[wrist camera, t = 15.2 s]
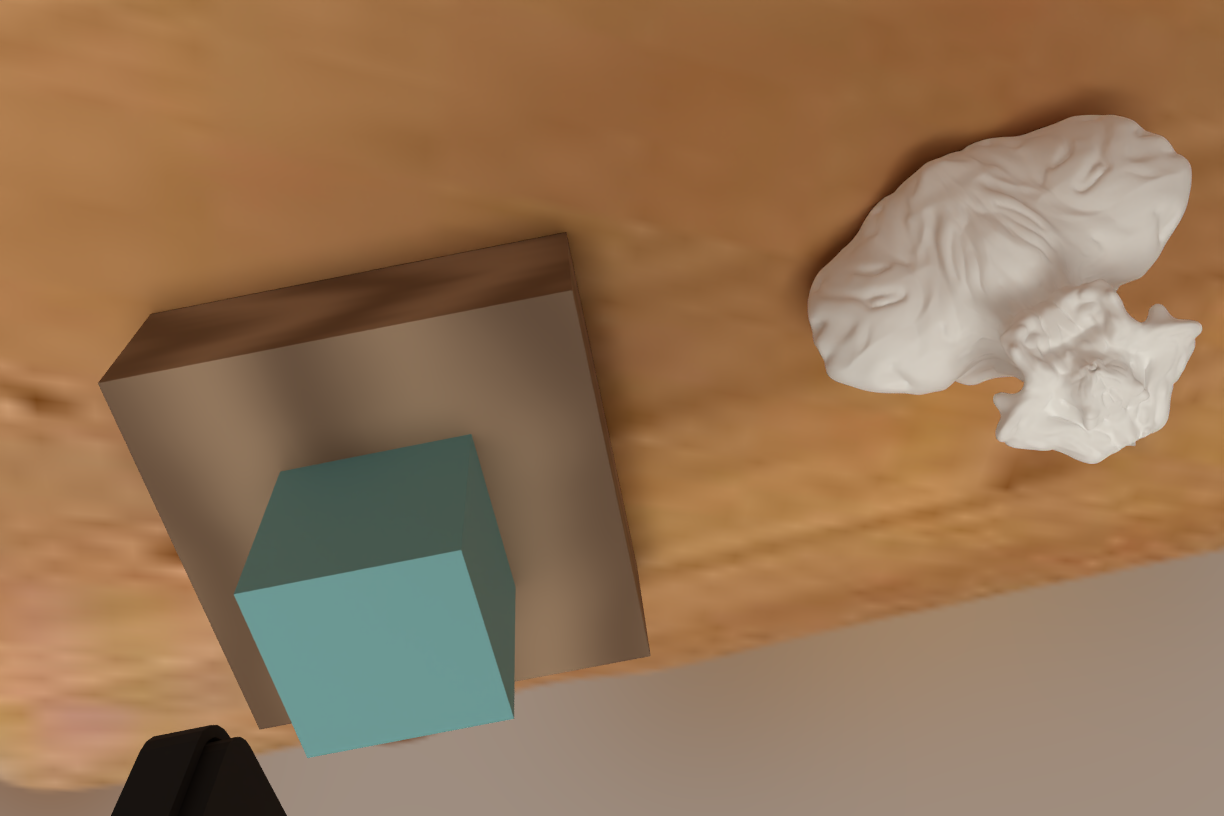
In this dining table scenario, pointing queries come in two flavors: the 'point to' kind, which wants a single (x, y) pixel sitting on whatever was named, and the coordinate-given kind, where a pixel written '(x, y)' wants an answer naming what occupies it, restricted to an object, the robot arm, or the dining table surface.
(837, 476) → the dining table surface
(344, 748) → the teal cube
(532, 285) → the walnut block
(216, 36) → the dining table surface
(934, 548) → the dining table surface
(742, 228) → the dining table surface
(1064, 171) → the bust
